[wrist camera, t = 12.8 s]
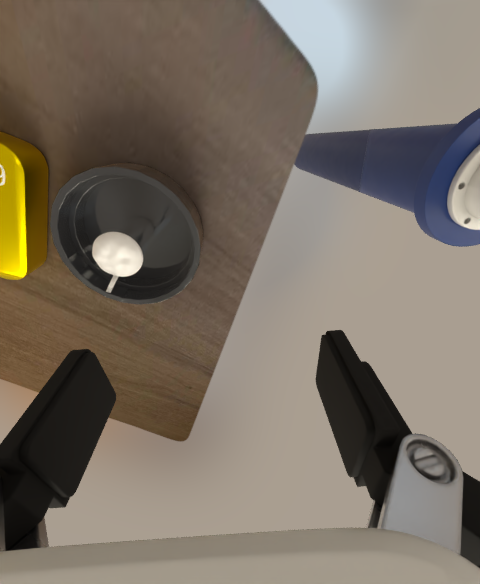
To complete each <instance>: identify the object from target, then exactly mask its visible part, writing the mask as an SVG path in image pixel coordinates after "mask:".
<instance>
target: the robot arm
mask: <svg viewBox="0 0 480 584" xmlns="http://www.w3.org/2000/svg"><path fill="white" fill-rule="evenodd" d="M447 207H448V212H449V214H450V216H451V218H452V220H453V221H454V222H455V223H457V224H458V225H460V226H462V227H465V228H468V229H473V230H480V145H479V146H478V147H476V148H475V149H474V150H473V151H472V152H471V154H470V155H469V156H468V157H467V158H466V159H465V160H464V162H463V163H462V165H461V166H460V167H459V169H458V171H457V172H456V174H455V176H454V178H453V180H452V183H451V185H450V188H449V192H448V197H447ZM316 385H317V388H318V391H319V394H320V397H321V400H322V403H323V406H324V408H325V411H326V414H327V417H328V419H329V423H330V425H331V428H332V431H333V434H334V437H335V440H336V443H337V446H338V448H339V451H340V454H341V457H342V459H343V463H344V465H345V468H346V471H347V473H348V475H349V476H350V477H354V479H355V482H356V485H357V486H358V487H360V486H367V489H368V492H369V494H370V497H371V498H372V499H373V500H374V501H373V505H372V508H371V512H370V516H369V519H368V523H367V527H366V528H332V529H307V530H289V531H274V532H257V533H242V534H226V535H212V536H196V537H181V538H167V539H153V540H138V541H124V542H110V543H97V544H83V545H70V546H57V547H49V545H48V538H47V532H46V526H45V519H44V516H45V513H46V512H47V510H48V508H59V507H66V505H67V503H68V500H69V498H70V497H71V496H73V495H74V493H75V492H76V490H77V488H78V486H79V483H80V481H81V479H82V476H83V474H84V472H85V470H86V467H87V465H88V463H89V461H90V458H91V456H92V454H93V451H94V449H95V447H96V444H97V442H98V440H99V437H100V435H101V433H102V431H103V429H104V426H105V424H106V422H107V419H108V417H109V415H110V413H111V410H112V408H113V406H114V403H115V401H116V393H115V391H114V389H113V387H112V385H111V383H110V382H109V380H108V378H107V376H106V374H105V372H104V370H103V368H102V366H101V365H100V363H99V361H98V359H97V357H96V355H95V354H94V353H93V352H91V351H90V350H89V349H82V350H73V351H71V352H70V353H69V354H68V355H67V357H66V358H65V359H64V361H63V362H62V363H61V365H60V366H59V367H58V369H57V370H56V371H55V373H54V374H53V375H52V376H51V378H50V379H49V380H48V382H47V383H46V384H45V386H44V387H43V388H42V390H41V391H40V392H39V394H38V395H37V396H36V398H35V399H34V400H33V402H32V403H31V404H30V406H29V407H28V408H27V410H26V411H25V413H24V414H23V415H22V416H21V418H20V419H19V420H18V422H17V423H16V424H15V426H14V427H13V428H12V430H11V431H10V432H9V434H8V435H7V436H6V438H5V439H4V440H3V442H2V443H1V444H0V584H480V482H479V481H478V480H476V479H474V478H473V477H471V476H469V475H468V474H466V473H464V472H463V471H462V468H461V466H460V464H459V462H458V460H457V459H456V458H455V456H454V455H453V454H452V453H451V452H450V450H448V449H447V448H446V447H445V446H444V445H443V444H441V443H440V442H438V441H437V440H435V439H433V438H431V437H428V436H426V435H422V434H412V432H411V431H410V429H409V428H408V426H407V424H406V423H405V421H404V420H403V418H402V416H401V415H400V413H399V411H398V410H397V408H396V406H395V405H394V403H393V401H392V400H391V398H390V397H389V395H388V393H387V392H386V390H385V389H384V387H383V385H382V384H381V382H380V380H379V379H378V378H377V376H376V374H375V372H374V371H373V369H372V368H371V366H370V365H369V364H368V363H367V362H361V361H360V359H359V358H358V356H357V354H356V352H355V351H354V349H353V347H352V346H351V344H350V342H349V341H348V339H347V337H346V336H345V334H344V332H343V331H342V330H335V331H327V332H326V335H322V338H321V345H320V352H319V359H318V366H317V374H316Z"/></svg>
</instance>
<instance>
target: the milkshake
mask: <svg viewBox="0 0 480 584" xmlns="http://www.w3.org/2000/svg"><path fill="white" fill-rule="evenodd" d="M154 233H155V229H154V227H153V225H152V223H151V221H149V220H147V219H146V218H144V217H133V218H132V219H130V220H128V221H126V222H125V223H123V224H121V225H120V226H118V227H116V228H114V229H112V230H110V231H108V232H106V233H104V234H102V235H100V236H98V237H97V238H96V239H95V241H94V243H93V248H92V255H93V258H94V260H95V261H96V262H97V264H98V265H99V267H100V268H101V269H102V270H104V271H105V272H107V273H109V274H112V275H113V277H112V279H111V281H110V284H109V286H108V288H107V290H106V292H109V293H111V291H112V289H113V287H114V285H115V283H116V281H117V279H118V277H119V276H120V277H127V276H131V275H133V274H135V273H136V272H137V271H138V270H139V269H140V268H141V266H142V264H143V261H144V258H145V256H146V253H147V251H148V249H149V247H150V244H151V242H152V240H153V238H154Z"/></svg>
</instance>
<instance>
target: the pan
mask: <svg viewBox="0 0 480 584" xmlns="http://www.w3.org/2000/svg"><path fill="white" fill-rule="evenodd" d="M133 217H144V218H146V219H147V220H149V221H151V223H152V225H153V227H154V229H155V233H154V238H153V240H152V242H151V244H150V247H149V249H148V251H147V253H146V256H145V258H144V261H143V264H142V266H141V268H140V269H139V270H138V271H137V272H136V273H135V274H133V275H131V276H127V277H120V276H119V277H118V279H117V281H116V283H115V285H114V287H113V289H112V291H111V293H109V292H106V290H107V288H108V286H109V284H110V281H111V279H112V277H113V275H112V274H109V273H107V272H105V271H104V270H102V269H101V268H100V267H99V265H98V264H97V262H96V261H95V260H94V258H93V255H92V248H93V243H94V241H95V239H96V238H97V237H98V236H100V235H102V234H104V233H106V232H108V231H110V230H112V229H114V228H116V227H118V226H120V225H121V224H123V223H125V222H126V221H128V220H130V219H132V218H133ZM50 227H51V232H52V237H53V242H54V245H55V247H56V249H57V251H58V253H59V255H60V257H61V259H62V261H63V262H64V263H65V265H66V266H67V267H68V268H69V270H70V271H71V272H72V273H73V275H75V277H77V278H78V279H79V280H80V281H81V282H83V283H84V284H85V285H86V286H87V287H89V288H90V289H92V290H94V291H96V292H97V293H99V294H101V295H103V296H106V297H107V298H110V299H113V300H116V301H119V302H123V303H131V304H151V303H158V302H161V301H164V300H167V299H170V298H172V297H173V296H175V295H176V294H178V293H179V292H181V291H182V290H183V289H184V288H185V287H186V286H187V285H188V284H189V282H190V281H191V280H192V279H193V277H194V275H195V272H196V270H197V268H198V266H199V261H200V256H201V251H202V243H203V229H202V222H201V218H200V216H199V213H198V211H197V209H196V206H195V204H194V202H193V201H192V200H191V198H190V197H189V196H188V194H187V193H186V192H185V190H184V189H182V187H181V186H180V185H178V184H177V183H176V182H175V181H174V180H172V179H171V178H170V177H169V176H167V175H166V174H164V173H162V172H159V171H157V170H155V169H153V168H151V167H149V166H144V165H139V164H134V163H119V164H110V165H105V166H100V167H96V168H92V169H89V170H87V171H85V172H82V173H80V174H77V175H75V176H73V177H72V178H71V179H70V180H69V181H68V182H67V183H66V184H65V185H64V186H63V187H62V188H61V189H60V190H59V192H58V194H57V196H56V198H55V200H54V202H53V204H52V210H51V220H50Z"/></svg>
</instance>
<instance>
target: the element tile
mask: <svg viewBox="0 0 480 584" xmlns="http://www.w3.org/2000/svg"><path fill="white" fill-rule="evenodd" d="M47 225H48V165H47V162H46V160H45V157H44V156H43V155H42V153H41V152H40V151H39V150H38V149H37V148H36V147H34V146H33V145H32V144H30V143H28V142H26V141H24V140H21V139H19V138H16V137H14V136H11V135H9V134H6V133H4V132H1V131H0V277H1V278H5V279H10V280H19V279H22V278H24V277H25V276H27V275H28V274H30V273H31V272H33V271H34V270H36V269H37V268H38V267H40V266H41V265H43V264H44V262H45V261H46V258H47Z"/></svg>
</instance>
